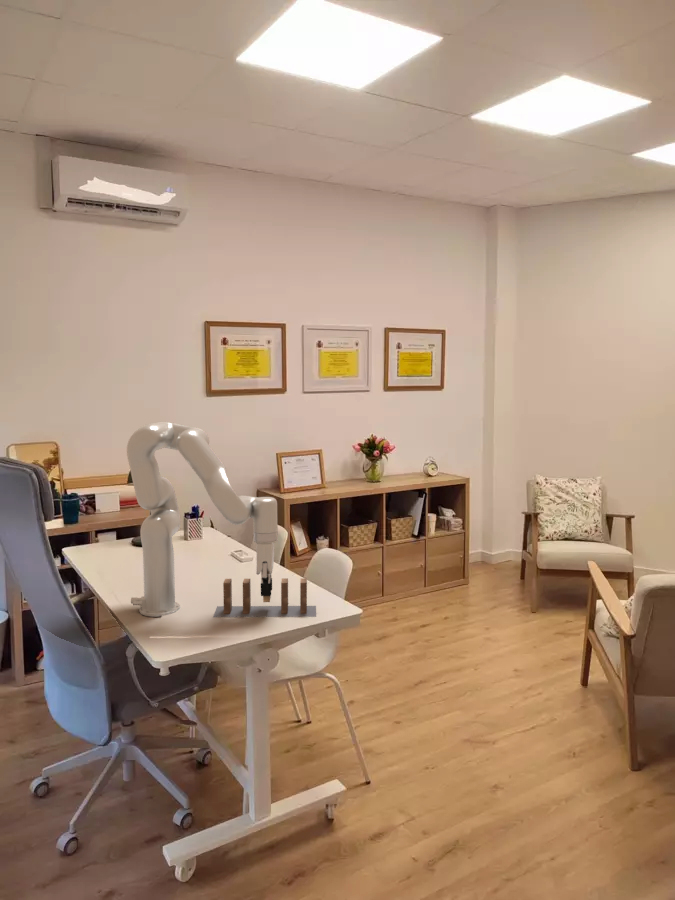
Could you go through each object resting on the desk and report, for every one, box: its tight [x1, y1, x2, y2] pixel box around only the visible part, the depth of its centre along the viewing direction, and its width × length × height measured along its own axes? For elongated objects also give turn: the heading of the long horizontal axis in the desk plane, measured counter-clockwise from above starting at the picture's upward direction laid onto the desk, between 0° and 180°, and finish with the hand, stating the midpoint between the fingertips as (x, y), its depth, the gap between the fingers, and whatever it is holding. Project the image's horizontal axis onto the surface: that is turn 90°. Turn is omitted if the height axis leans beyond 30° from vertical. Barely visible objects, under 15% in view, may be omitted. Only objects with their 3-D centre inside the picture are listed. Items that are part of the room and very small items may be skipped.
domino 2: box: [242, 578, 252, 614], centre depth 218 cm, size 2×5×10 cm, turn 2°
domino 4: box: [280, 578, 289, 614], centre depth 219 cm, size 2×5×10 cm, turn 2°
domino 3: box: [262, 572, 272, 603], centre depth 218 cm, size 2×5×10 cm, turn 2°
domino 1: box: [222, 578, 233, 614], centre depth 218 cm, size 2×5×10 cm, turn 2°
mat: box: [212, 605, 317, 618], centre depth 219 cm, size 32×10×1 cm, turn 92°
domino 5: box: [299, 578, 308, 614], centre depth 219 cm, size 2×5×10 cm, turn 2°
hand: (266, 592), depth 218 cm, fingers closed on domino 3, 4 cm apart
